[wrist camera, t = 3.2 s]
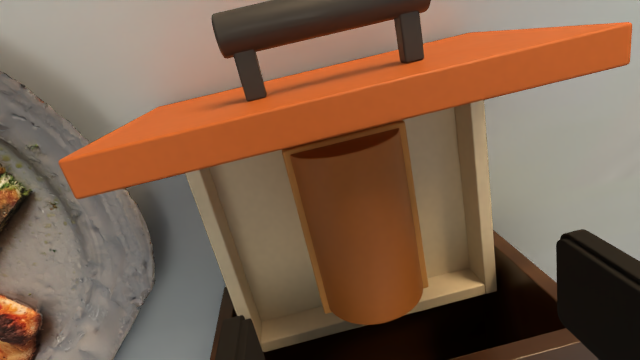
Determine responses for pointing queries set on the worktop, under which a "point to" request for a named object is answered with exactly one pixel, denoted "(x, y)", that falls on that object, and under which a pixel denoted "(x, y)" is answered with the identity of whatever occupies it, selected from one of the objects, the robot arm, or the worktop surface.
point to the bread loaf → (360, 222)
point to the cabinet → (456, 325)
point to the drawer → (333, 120)
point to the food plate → (62, 244)
